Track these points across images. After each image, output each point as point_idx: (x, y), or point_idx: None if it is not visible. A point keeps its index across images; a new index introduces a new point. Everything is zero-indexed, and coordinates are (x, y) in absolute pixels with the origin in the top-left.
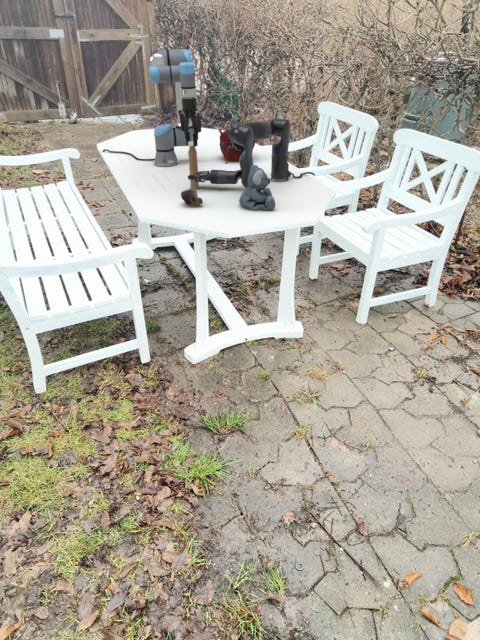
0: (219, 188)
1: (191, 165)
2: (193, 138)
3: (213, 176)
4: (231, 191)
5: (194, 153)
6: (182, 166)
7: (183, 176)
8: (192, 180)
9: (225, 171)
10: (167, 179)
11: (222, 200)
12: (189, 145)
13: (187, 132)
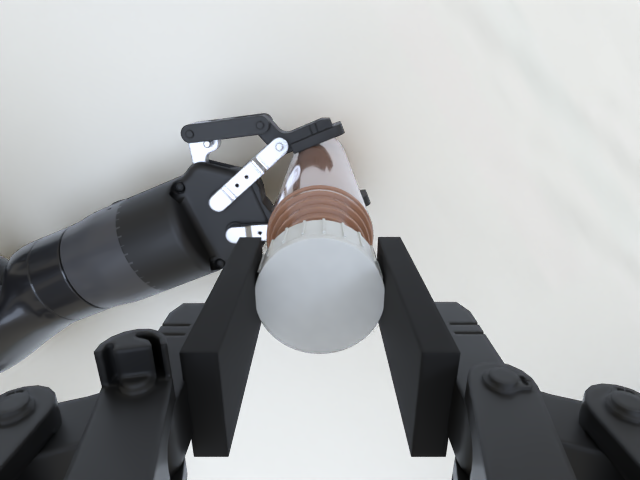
0: None
1: (312, 160)
2: (228, 294)
3: (145, 196)
4: None
5: (271, 214)
6: None
7: (506, 304)
8: None
9: (73, 271)
10: (575, 214)
11: (10, 41)
12: (324, 221)
13: (429, 397)
